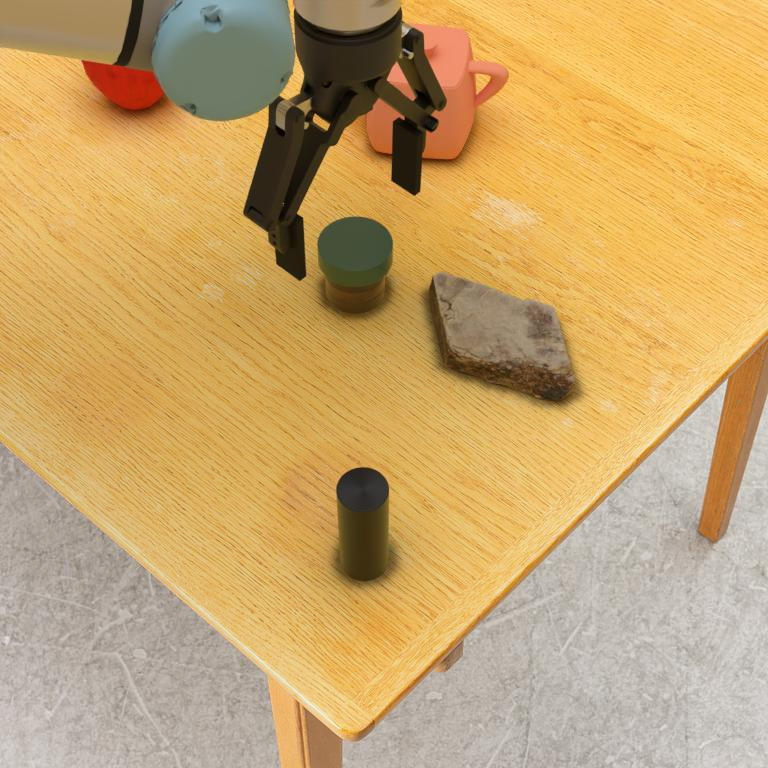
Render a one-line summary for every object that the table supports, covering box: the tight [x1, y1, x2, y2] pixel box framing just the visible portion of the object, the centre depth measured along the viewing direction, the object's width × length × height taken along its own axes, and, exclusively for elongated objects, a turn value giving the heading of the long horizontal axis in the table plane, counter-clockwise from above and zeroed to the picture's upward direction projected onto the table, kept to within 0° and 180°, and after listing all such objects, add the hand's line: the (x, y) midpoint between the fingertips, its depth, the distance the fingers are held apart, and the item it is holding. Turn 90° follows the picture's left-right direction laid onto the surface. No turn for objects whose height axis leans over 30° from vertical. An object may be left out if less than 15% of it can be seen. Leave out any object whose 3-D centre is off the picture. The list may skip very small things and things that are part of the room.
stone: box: [428, 271, 576, 402], centre depth 99 cm, size 15×8×3 cm, turn 68°
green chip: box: [316, 216, 394, 287], centre depth 100 cm, size 6×6×2 cm
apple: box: [80, 60, 165, 111], centre depth 115 cm, size 10×10×12 cm
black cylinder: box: [335, 466, 390, 582], centre depth 84 cm, size 4×4×10 cm
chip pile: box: [324, 275, 386, 314], centre depth 102 cm, size 5×5×4 cm
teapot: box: [366, 22, 510, 160], centre depth 113 cm, size 12×18×10 cm, turn 81°
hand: (350, 227), depth 97 cm, fingers open, 13 cm apart
